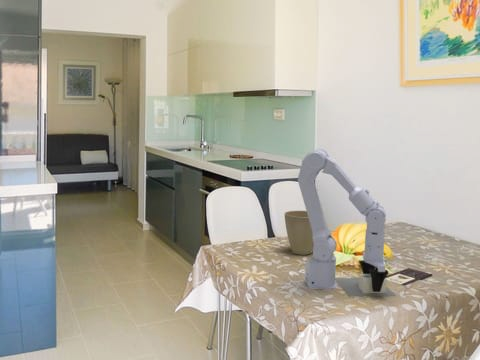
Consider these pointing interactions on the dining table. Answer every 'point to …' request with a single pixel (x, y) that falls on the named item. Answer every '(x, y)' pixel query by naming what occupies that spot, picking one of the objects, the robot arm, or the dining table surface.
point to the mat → (353, 288)
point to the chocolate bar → (407, 276)
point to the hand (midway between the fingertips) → (372, 287)
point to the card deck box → (369, 284)
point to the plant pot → (299, 232)
